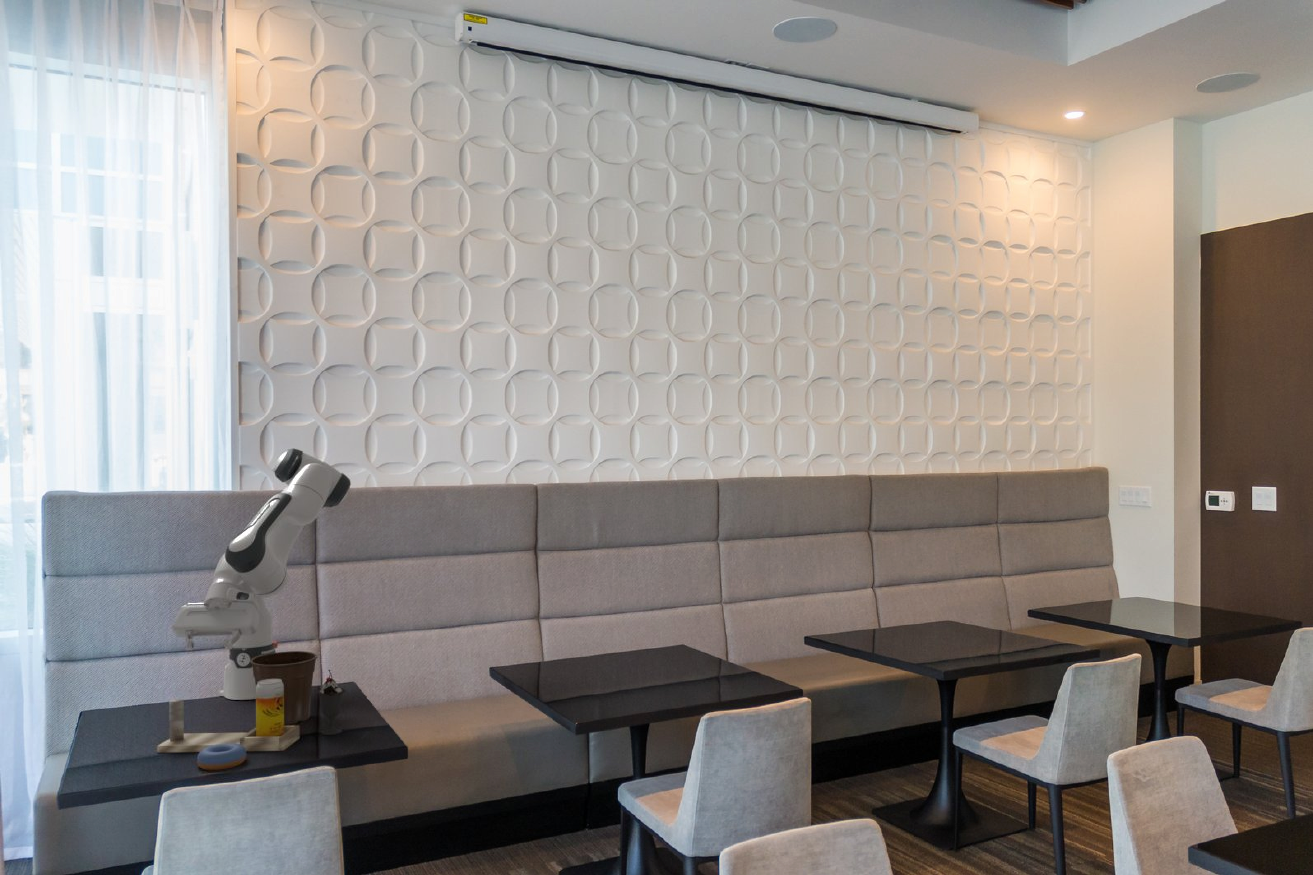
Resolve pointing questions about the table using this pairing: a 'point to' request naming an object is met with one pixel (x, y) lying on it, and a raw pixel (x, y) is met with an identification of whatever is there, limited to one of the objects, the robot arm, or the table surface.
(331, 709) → the sundae
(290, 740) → the wooden peg stand
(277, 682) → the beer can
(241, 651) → the robot arm
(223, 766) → the doughnut
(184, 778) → the table surface
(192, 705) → the table surface
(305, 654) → the plant pot
